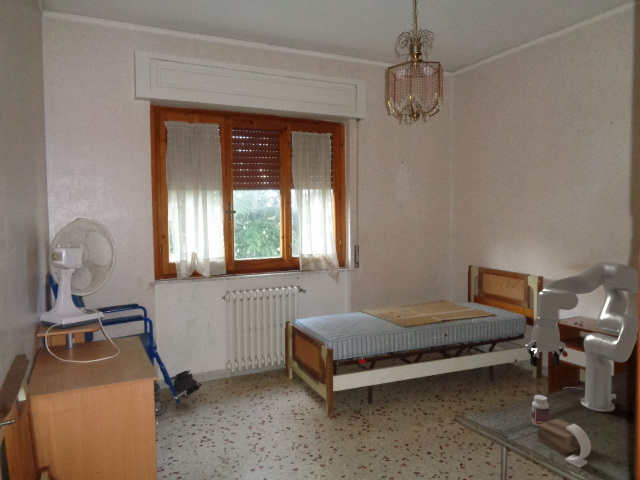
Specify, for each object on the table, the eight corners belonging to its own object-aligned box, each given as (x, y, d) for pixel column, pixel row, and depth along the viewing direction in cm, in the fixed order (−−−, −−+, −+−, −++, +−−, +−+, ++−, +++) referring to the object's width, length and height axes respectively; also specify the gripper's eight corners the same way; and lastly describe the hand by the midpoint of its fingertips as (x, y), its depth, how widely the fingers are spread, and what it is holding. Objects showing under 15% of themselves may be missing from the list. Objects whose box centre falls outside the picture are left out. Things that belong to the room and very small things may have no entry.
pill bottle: (552, 424, 186) (552, 398, 185) (543, 429, 183) (543, 402, 182) (537, 418, 192) (537, 392, 191) (528, 423, 188) (528, 396, 187)
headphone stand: (573, 456, 163) (573, 423, 162) (590, 464, 158) (591, 430, 157) (565, 460, 161) (566, 427, 160) (582, 469, 156) (583, 434, 155)
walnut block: (558, 433, 179) (558, 418, 179) (585, 447, 170) (585, 431, 169) (537, 440, 175) (538, 424, 174) (564, 454, 165) (564, 438, 164)
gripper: (559, 319, 190) (557, 361, 191) (521, 320, 187) (519, 363, 188) (572, 324, 183) (570, 367, 184) (533, 325, 180) (531, 369, 181)
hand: (544, 365), depth 186 cm, fingers open, 9 cm apart
